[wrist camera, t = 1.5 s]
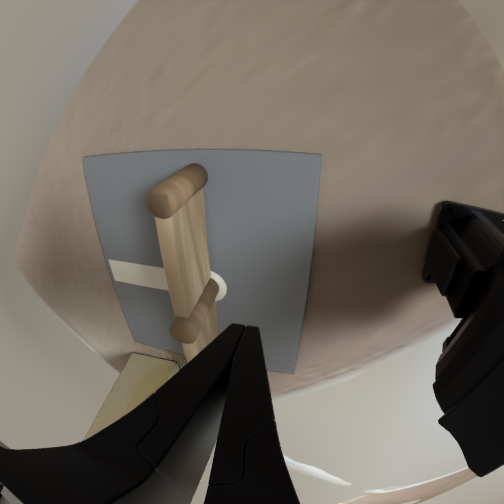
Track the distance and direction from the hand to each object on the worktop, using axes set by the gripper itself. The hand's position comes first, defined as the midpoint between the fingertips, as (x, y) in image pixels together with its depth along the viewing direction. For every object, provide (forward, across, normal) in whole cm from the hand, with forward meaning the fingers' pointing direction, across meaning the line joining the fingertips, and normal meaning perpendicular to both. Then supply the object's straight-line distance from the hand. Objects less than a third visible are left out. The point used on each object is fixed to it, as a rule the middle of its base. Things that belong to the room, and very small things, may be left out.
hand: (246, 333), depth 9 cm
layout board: (+12, +7, +8) cm, 16 cm away
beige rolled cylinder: (+11, +6, +2) cm, 13 cm away
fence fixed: (+12, +6, +13) cm, 18 cm away
